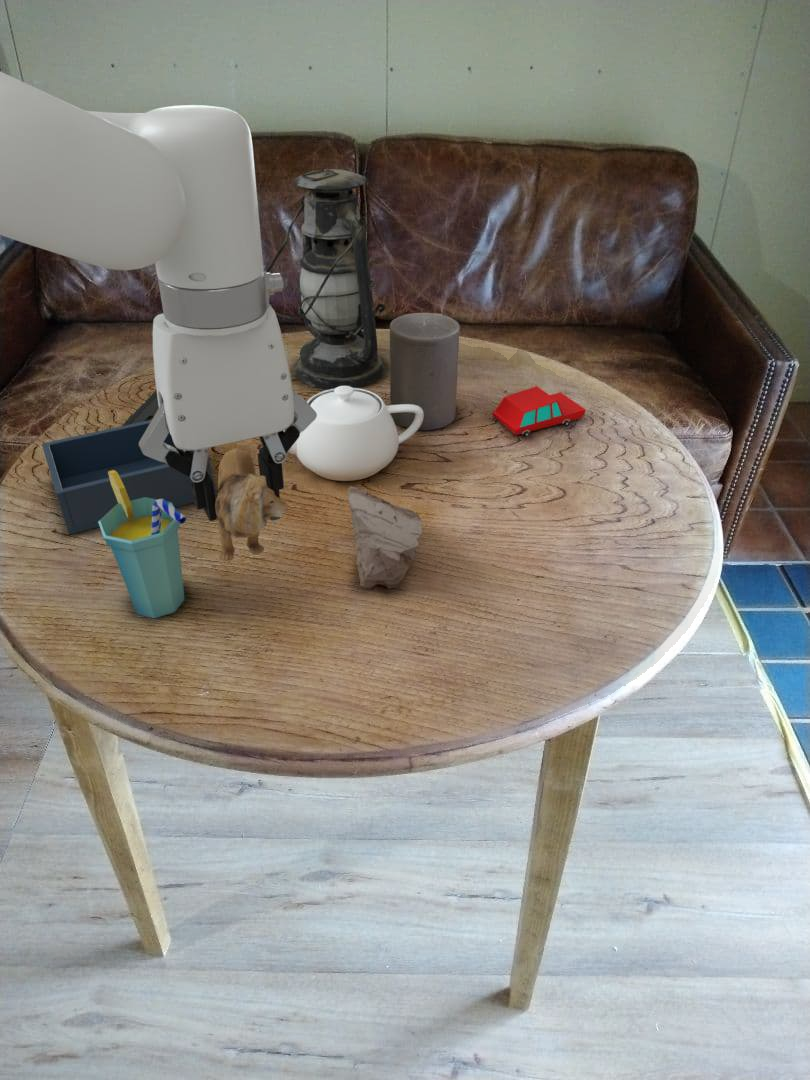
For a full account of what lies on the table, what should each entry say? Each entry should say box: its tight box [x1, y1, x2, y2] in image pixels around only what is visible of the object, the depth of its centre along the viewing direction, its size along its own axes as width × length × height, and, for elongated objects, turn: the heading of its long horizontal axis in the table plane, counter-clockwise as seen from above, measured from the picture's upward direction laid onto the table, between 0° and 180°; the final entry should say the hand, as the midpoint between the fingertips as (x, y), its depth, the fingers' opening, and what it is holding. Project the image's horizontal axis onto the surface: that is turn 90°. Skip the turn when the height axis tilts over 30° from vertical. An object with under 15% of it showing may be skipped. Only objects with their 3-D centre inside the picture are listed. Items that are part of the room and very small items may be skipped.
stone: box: [347, 485, 423, 589], centre depth 87 cm, size 15×9×10 cm
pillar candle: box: [389, 312, 461, 431], centre depth 112 cm, size 10×10×15 cm
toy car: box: [491, 385, 587, 437], centre depth 114 cm, size 6×12×4 cm, turn 117°
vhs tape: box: [121, 389, 159, 426], centre depth 115 cm, size 14×8×2 cm, turn 170°
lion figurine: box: [215, 447, 289, 562], centre depth 69 cm, size 15×5×9 cm, turn 22°
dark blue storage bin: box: [41, 420, 217, 535], centre depth 99 cm, size 18×13×6 cm
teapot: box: [287, 386, 424, 482], centre depth 102 cm, size 22×14×11 cm, turn 101°
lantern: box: [265, 168, 386, 390], centre depth 118 cm, size 19×19×30 cm
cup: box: [98, 470, 187, 619], centre depth 78 cm, size 14×8×15 cm, turn 50°
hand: (240, 502), depth 69 cm, fingers closed on lion figurine, 4 cm apart
